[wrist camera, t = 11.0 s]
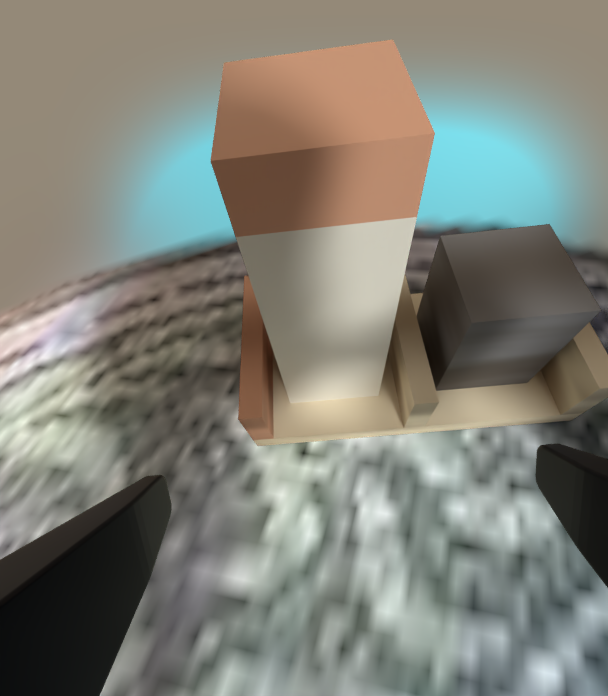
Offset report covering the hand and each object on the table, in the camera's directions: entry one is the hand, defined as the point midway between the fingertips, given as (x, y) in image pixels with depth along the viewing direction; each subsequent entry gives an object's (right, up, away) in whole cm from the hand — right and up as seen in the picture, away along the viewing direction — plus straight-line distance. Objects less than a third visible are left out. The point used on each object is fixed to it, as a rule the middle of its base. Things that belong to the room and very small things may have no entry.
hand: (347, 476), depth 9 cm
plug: (0, +2, +11) cm, 11 cm away
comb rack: (+4, +2, +12) cm, 13 cm away
